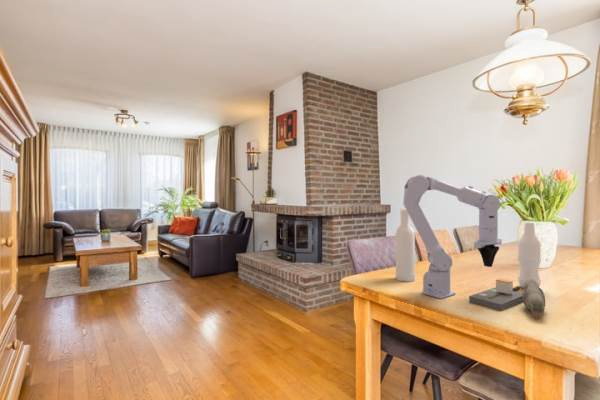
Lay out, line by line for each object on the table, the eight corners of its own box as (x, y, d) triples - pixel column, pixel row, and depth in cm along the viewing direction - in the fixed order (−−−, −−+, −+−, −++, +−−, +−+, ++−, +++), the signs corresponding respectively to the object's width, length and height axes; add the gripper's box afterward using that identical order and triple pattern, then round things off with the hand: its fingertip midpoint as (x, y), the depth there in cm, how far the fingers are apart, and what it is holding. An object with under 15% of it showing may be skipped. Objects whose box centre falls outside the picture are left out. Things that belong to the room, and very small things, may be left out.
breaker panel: (501, 310, 100) (501, 304, 100) (469, 301, 108) (469, 295, 108) (527, 300, 110) (527, 293, 110) (496, 292, 118) (496, 286, 118)
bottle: (396, 276, 142) (396, 208, 142) (415, 277, 140) (415, 208, 139) (395, 280, 135) (394, 209, 134) (414, 282, 132) (414, 209, 132)
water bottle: (535, 285, 126) (536, 222, 126) (544, 291, 120) (544, 223, 119) (514, 284, 128) (515, 222, 128) (522, 289, 122) (522, 223, 121)
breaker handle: (508, 294, 109) (508, 282, 108) (495, 291, 112) (495, 279, 112) (512, 292, 110) (512, 280, 110) (500, 289, 114) (500, 278, 113)
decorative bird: (525, 318, 94) (525, 291, 94) (520, 301, 109) (520, 277, 109) (550, 322, 91) (550, 294, 91) (541, 304, 106) (541, 280, 106)
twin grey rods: (518, 298, 112) (518, 295, 112) (501, 294, 116) (501, 291, 116) (533, 292, 118) (533, 289, 118) (517, 288, 123) (517, 285, 123)
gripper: (488, 230, 107) (488, 271, 108) (510, 228, 115) (510, 265, 115) (468, 228, 113) (468, 267, 114) (490, 226, 121) (490, 262, 121)
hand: (488, 266), depth 115 cm, fingers closed
